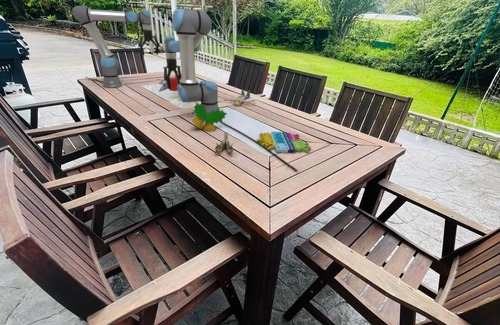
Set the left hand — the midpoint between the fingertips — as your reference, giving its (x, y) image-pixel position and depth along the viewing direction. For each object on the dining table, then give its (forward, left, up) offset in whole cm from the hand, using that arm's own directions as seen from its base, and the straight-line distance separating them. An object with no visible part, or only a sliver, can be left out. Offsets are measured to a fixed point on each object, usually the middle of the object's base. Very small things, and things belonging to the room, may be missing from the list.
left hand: (150, 54), depth 247 cm
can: (+60, -11, -19) cm, 63 cm away
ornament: (+129, -27, -26) cm, 134 cm away
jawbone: (+159, -39, -26) cm, 166 cm away
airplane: (+21, +8, -26) cm, 34 cm away
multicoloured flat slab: (+171, -6, -26) cm, 173 cm away
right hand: (+60, -11, -17) cm, 63 cm away
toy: (+96, +31, -26) cm, 104 cm away
